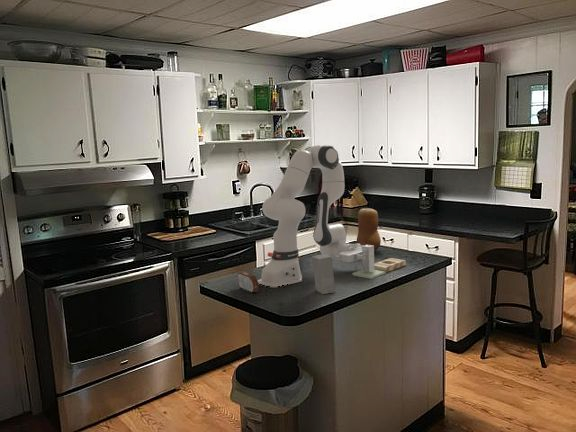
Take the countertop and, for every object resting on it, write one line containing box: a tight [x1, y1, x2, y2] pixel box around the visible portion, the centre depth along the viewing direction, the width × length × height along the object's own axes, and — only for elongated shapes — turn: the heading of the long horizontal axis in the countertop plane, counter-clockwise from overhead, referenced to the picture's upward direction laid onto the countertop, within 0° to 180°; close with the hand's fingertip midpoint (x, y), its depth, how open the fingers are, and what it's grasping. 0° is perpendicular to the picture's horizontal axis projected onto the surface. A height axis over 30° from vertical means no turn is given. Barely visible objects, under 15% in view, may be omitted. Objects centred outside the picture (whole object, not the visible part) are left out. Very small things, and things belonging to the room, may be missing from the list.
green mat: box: [351, 269, 386, 280], centre depth 235 cm, size 11×11×1 cm
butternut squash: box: [356, 207, 382, 252], centre depth 279 cm, size 14×13×25 cm
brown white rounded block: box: [237, 270, 260, 293], centre depth 220 cm, size 15×3×8 cm, turn 34°
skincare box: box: [311, 254, 336, 295], centre depth 212 cm, size 8×7×16 cm
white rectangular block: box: [361, 245, 375, 272], centre depth 234 cm, size 4×4×12 cm
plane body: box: [374, 257, 407, 274], centre depth 246 cm, size 17×9×2 cm, turn 133°
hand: (369, 256), depth 233 cm, fingers closed on white rectangular block, 4 cm apart
